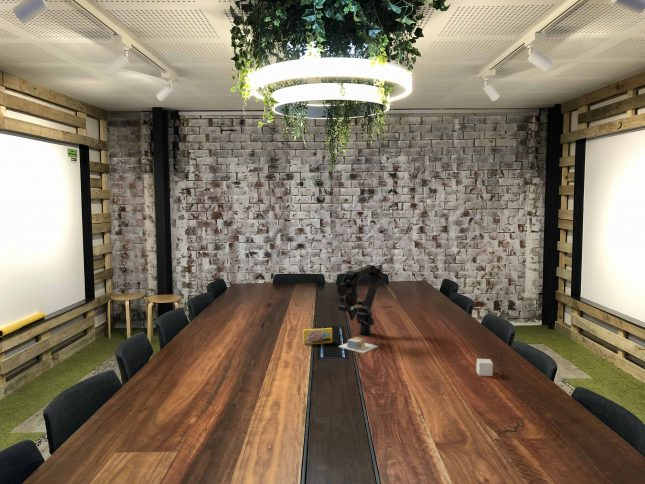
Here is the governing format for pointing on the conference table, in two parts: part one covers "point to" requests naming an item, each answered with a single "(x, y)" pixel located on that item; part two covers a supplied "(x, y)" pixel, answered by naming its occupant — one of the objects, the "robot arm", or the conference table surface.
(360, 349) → the mat
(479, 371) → the white cube
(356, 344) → the maple block
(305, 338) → the candy box
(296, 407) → the conference table surface
